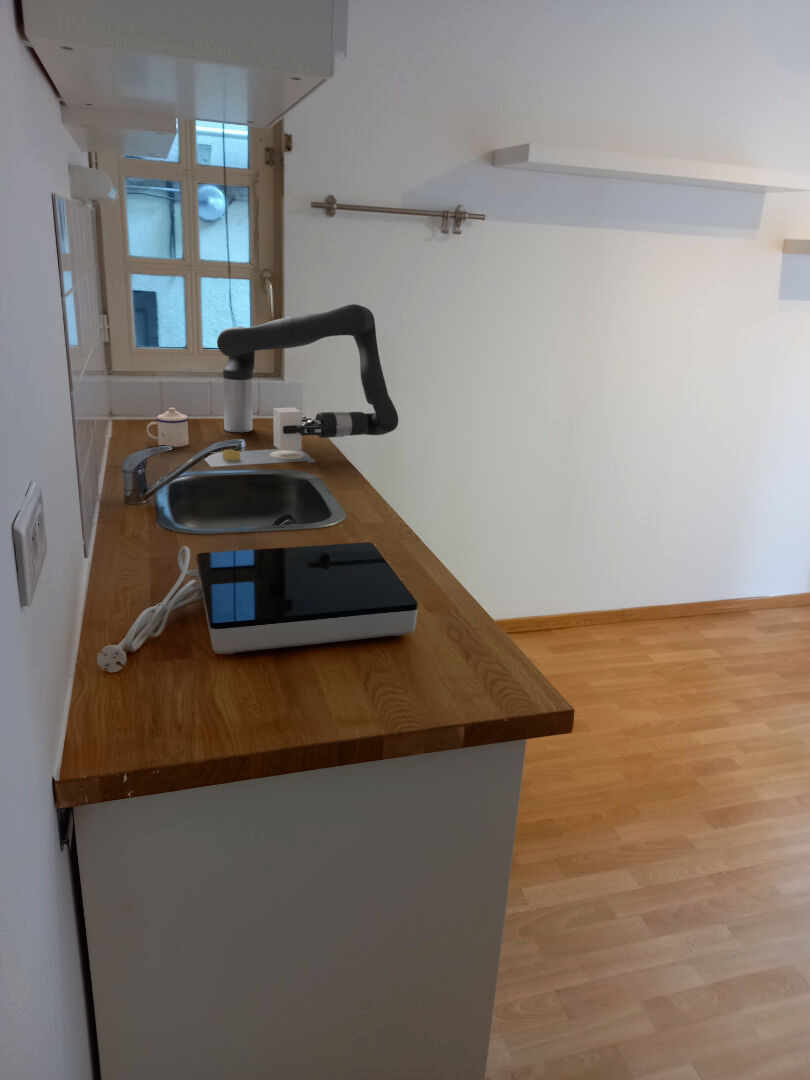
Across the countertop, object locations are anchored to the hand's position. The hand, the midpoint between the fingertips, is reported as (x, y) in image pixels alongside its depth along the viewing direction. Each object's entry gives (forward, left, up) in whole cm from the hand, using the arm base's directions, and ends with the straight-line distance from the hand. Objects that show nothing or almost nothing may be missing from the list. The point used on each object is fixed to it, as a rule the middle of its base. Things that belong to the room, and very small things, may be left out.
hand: (279, 427), depth 225 cm
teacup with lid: (-22, -28, -10) cm, 36 cm away
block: (0, -14, -8) cm, 17 cm away
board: (0, -7, -9) cm, 12 cm away
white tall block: (0, +2, -6) cm, 6 cm away
